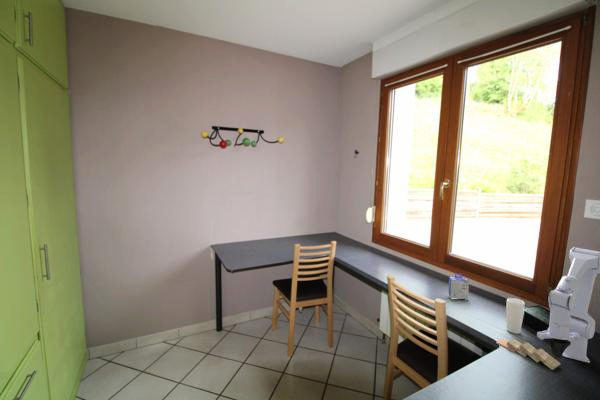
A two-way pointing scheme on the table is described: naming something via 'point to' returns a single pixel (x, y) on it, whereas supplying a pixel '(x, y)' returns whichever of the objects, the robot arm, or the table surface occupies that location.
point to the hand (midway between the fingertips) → (556, 356)
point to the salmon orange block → (504, 344)
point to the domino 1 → (516, 346)
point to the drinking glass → (514, 314)
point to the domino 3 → (546, 359)
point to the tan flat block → (529, 351)
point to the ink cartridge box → (458, 287)
